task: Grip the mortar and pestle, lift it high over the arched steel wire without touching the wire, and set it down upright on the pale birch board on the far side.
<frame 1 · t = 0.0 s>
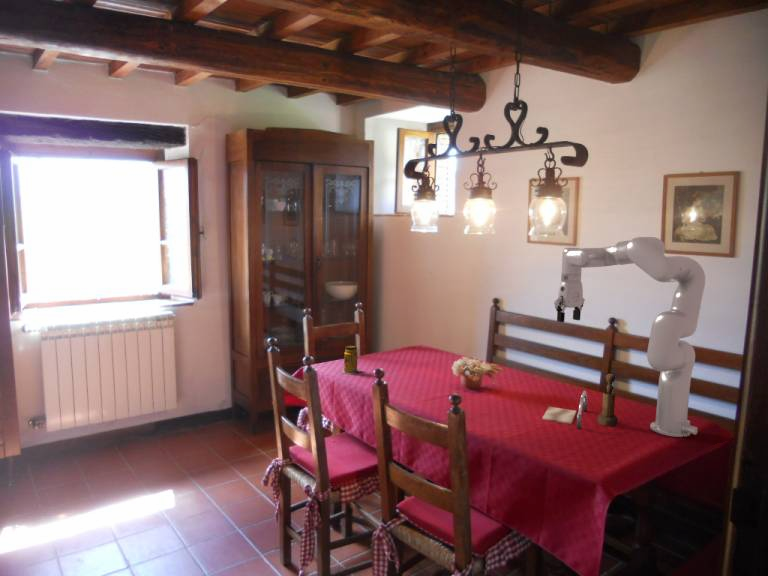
hand: (568, 320, 232), 31 cm above the table, tool pointing down, fingers open, 9 cm apart
mortar and pestle: (607, 423, 205), on the table
birch board: (559, 415, 212), on the table
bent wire: (581, 419, 208), on the table
condiment: (352, 372, 266), on the table
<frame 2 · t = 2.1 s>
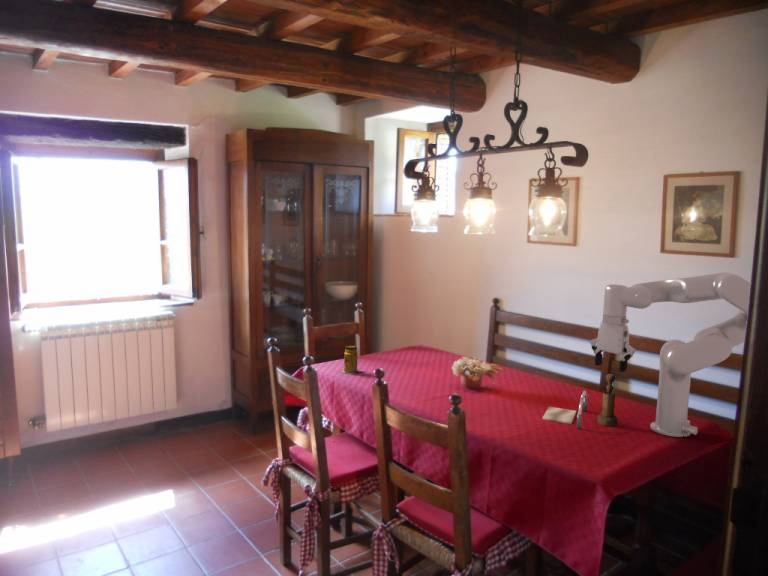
hand: (610, 368, 202), 20 cm above the table, tool pointing down, fingers open, 9 cm apart
nothing on the table moved.
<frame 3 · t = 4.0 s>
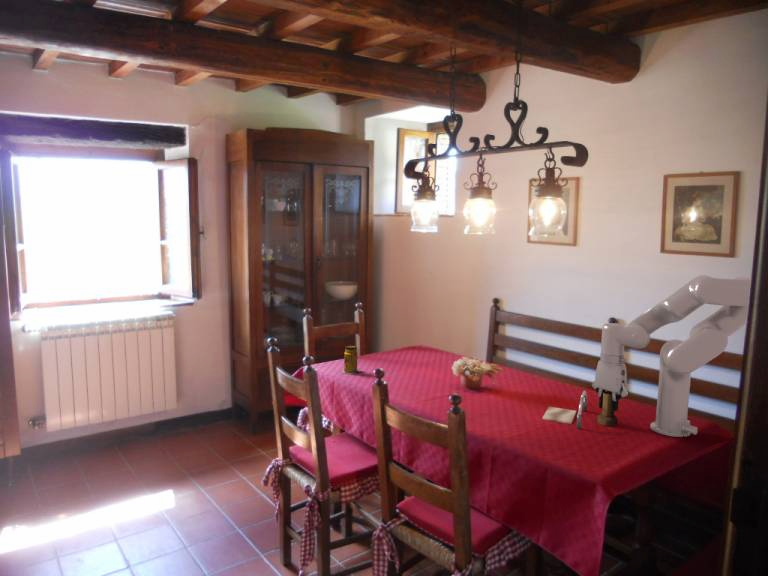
hand: (608, 408, 204), 5 cm above the table, tool pointing down, fingers closed on mortar and pestle, 3 cm apart
mortar and pestle: (607, 423, 205), on the table, touching gripper
everything else where it was.
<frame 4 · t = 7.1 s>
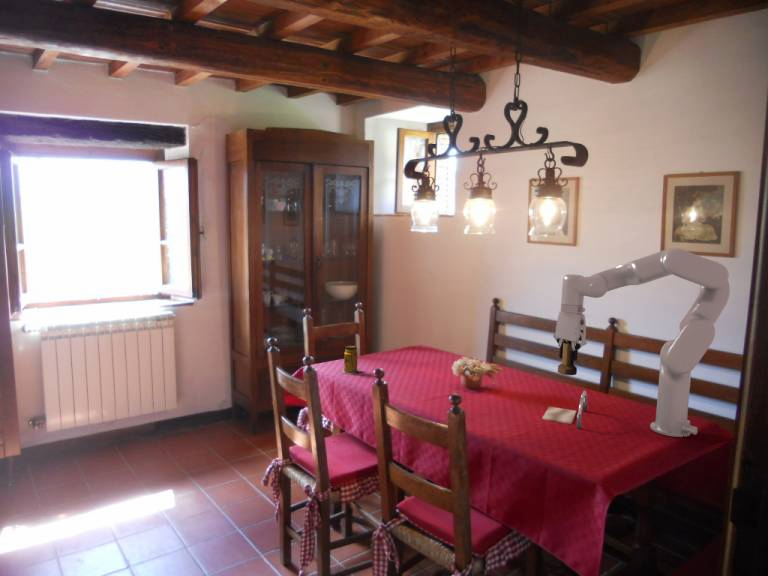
hand: (568, 358, 208), 22 cm above the table, tool pointing down, fingers closed on mortar and pestle, 3 cm apart
mortar and pestle: (567, 373, 209), point 16 cm above the table, touching gripper
everything else where it was.
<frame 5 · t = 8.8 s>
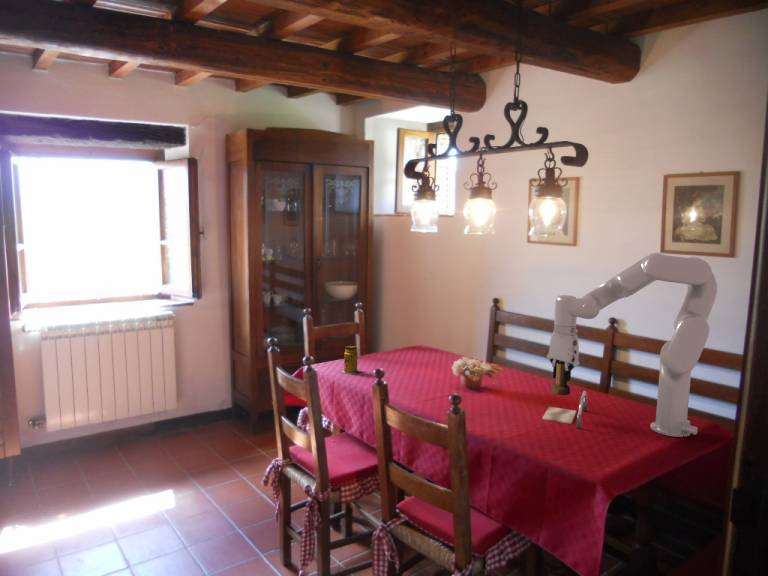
hand: (561, 378, 210), 14 cm above the table, tool pointing down, fingers closed on mortar and pestle, 3 cm apart
mortar and pestle: (560, 393, 211), point 8 cm above the table, touching gripper
everything else where it was.
when the fingers open (8 cm above the table, at t = 10.2 s): mortar and pestle drops 2 cm, resting on birch board.
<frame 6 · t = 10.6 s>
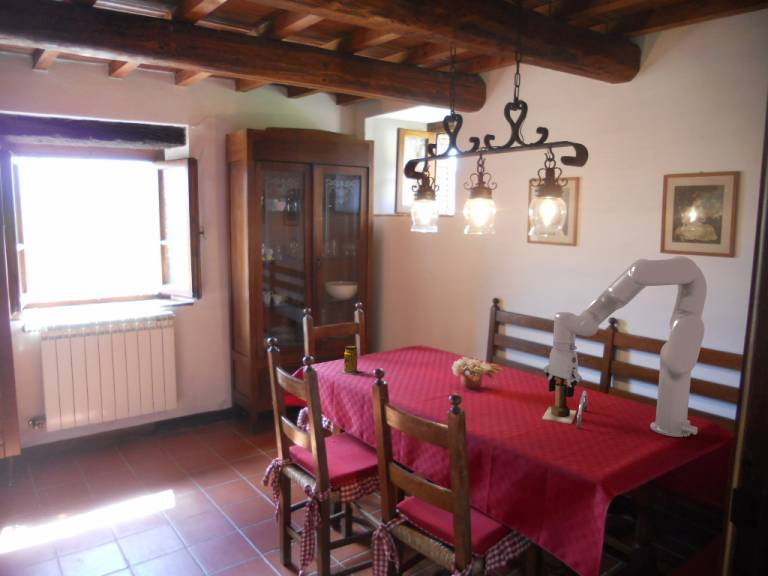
hand: (560, 393, 211), 8 cm above the table, tool pointing down, fingers open, 7 cm apart
mortar and pestle: (560, 414, 211), resting on birch board
everything else where it was.
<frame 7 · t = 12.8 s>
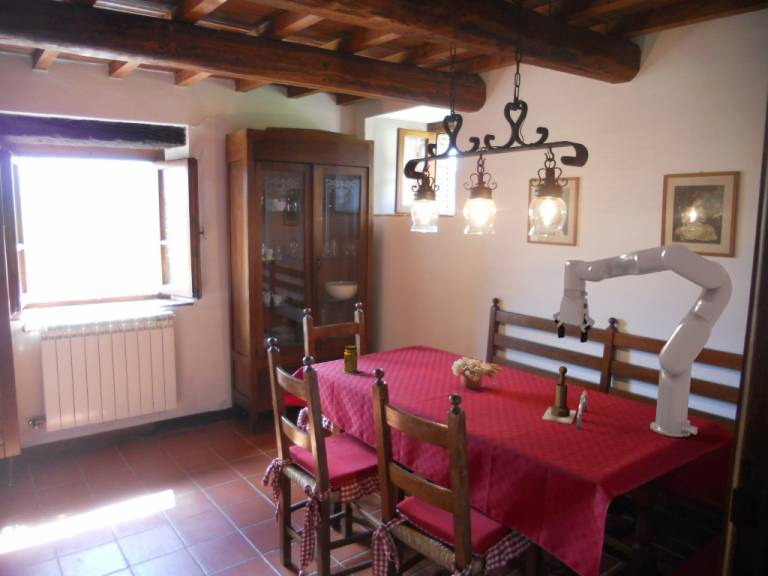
hand: (572, 339, 213), 28 cm above the table, tool pointing down, fingers open, 9 cm apart
nothing on the table moved.
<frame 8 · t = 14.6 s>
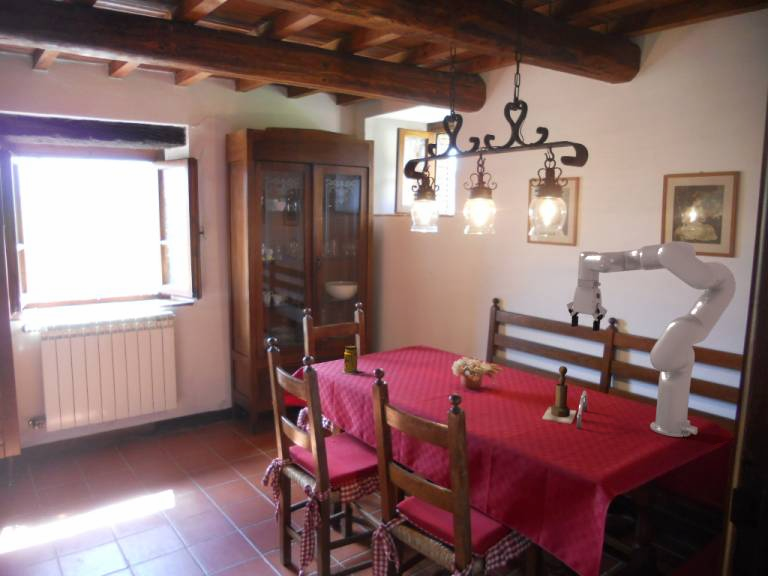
hand: (585, 328, 221), 30 cm above the table, tool pointing down, fingers open, 9 cm apart
nothing on the table moved.
at the end: mortar and pestle inside the target area on the birch board (0.2 cm from its centre), point 0.4 cm above the birch board's base; mortar and pestle tilted 0°; mortar and pestle touching birch board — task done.
